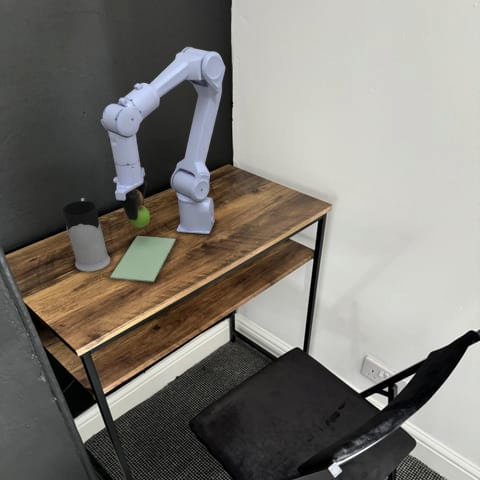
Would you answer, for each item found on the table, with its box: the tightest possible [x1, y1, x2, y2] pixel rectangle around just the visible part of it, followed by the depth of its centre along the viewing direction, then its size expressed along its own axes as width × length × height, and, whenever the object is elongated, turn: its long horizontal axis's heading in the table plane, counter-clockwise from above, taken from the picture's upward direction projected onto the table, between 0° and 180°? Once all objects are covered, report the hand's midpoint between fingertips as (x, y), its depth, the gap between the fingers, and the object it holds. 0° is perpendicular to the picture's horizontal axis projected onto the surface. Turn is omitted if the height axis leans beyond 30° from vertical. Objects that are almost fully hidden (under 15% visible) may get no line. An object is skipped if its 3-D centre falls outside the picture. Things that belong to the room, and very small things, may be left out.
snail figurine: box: [128, 188, 151, 228], centre depth 114 cm, size 5×6×12 cm
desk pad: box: [109, 235, 177, 283], centre depth 119 cm, size 11×20×1 cm, turn 171°
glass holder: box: [62, 197, 111, 272], centre depth 115 cm, size 9×14×15 cm, turn 11°
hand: (136, 214), depth 115 cm, fingers closed on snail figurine, 4 cm apart
